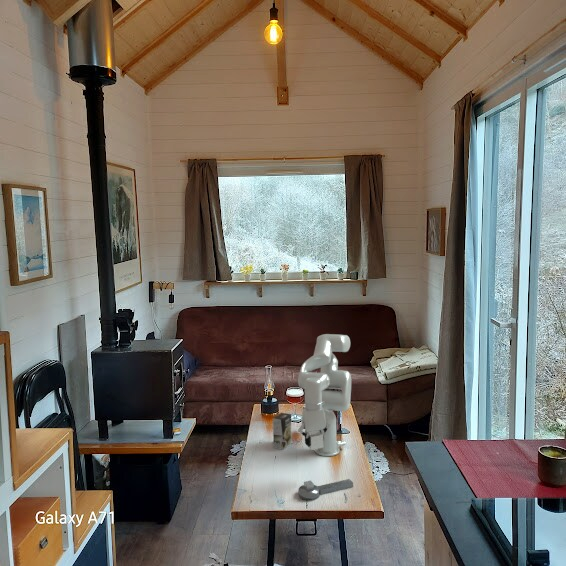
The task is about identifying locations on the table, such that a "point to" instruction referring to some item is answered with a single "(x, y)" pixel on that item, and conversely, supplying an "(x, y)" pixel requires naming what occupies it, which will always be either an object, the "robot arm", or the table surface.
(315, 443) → the brushed grey cube
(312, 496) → the ratchet
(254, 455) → the table surface
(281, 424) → the coffee box
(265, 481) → the table surface
